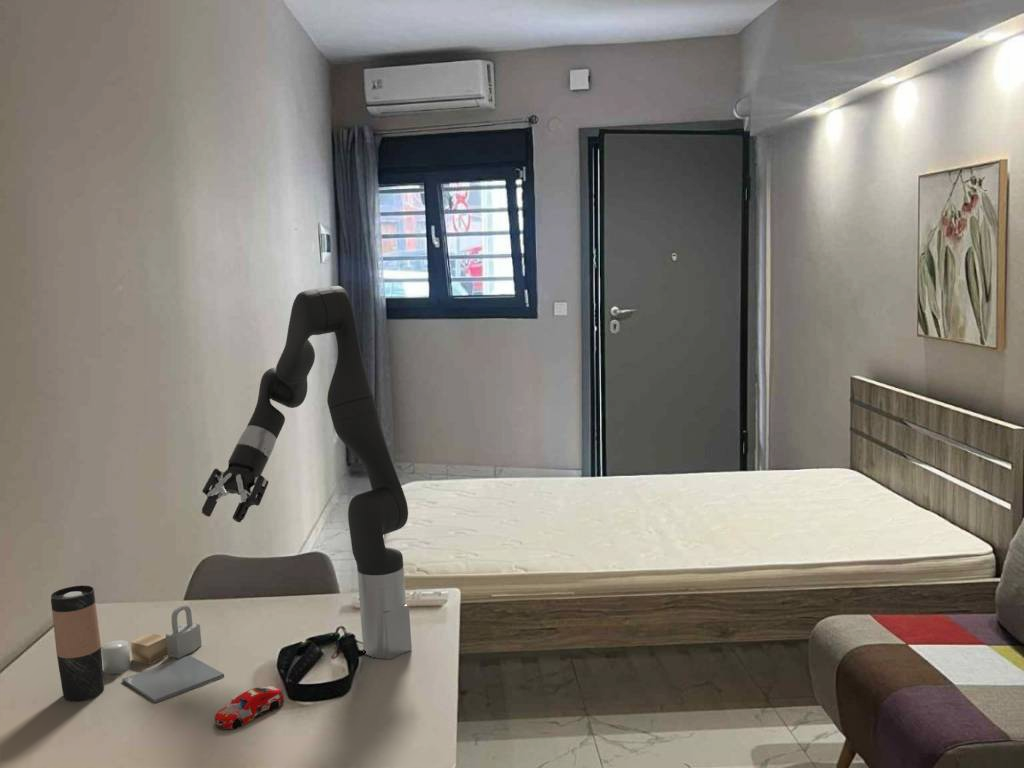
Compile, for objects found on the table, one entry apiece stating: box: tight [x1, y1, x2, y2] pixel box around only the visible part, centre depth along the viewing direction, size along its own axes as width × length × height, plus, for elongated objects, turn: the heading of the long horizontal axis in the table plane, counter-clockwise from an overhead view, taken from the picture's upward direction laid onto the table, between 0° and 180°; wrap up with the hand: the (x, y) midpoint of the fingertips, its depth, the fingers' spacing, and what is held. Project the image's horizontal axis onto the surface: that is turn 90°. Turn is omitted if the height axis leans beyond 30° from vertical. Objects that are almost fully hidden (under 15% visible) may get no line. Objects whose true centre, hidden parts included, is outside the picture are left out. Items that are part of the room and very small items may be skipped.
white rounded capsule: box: [101, 639, 132, 675], centre depth 195 cm, size 5×5×5 cm
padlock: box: [165, 604, 203, 659], centre depth 202 cm, size 7×4×10 cm, turn 157°
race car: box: [214, 685, 285, 730], centre depth 172 cm, size 13×5×4 cm, turn 140°
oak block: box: [130, 632, 168, 665], centre depth 200 cm, size 5×5×4 cm
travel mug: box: [50, 585, 105, 702], centre depth 183 cm, size 8×8×20 cm
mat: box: [121, 654, 225, 703], centre depth 189 cm, size 14×14×1 cm
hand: (220, 517), depth 205 cm, fingers open, 8 cm apart
